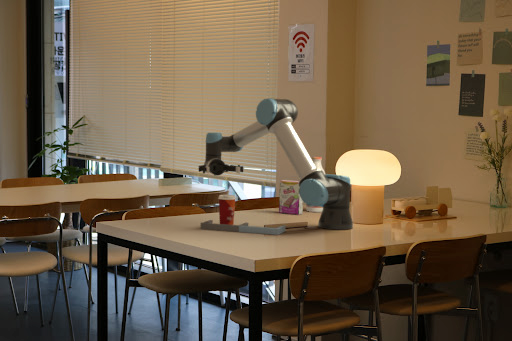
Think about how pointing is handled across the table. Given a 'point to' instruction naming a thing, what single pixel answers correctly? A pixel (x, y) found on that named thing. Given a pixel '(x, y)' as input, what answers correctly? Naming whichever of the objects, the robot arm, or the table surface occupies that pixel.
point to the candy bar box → (290, 198)
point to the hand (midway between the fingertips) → (224, 170)
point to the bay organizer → (242, 228)
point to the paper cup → (226, 209)
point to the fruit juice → (318, 165)
